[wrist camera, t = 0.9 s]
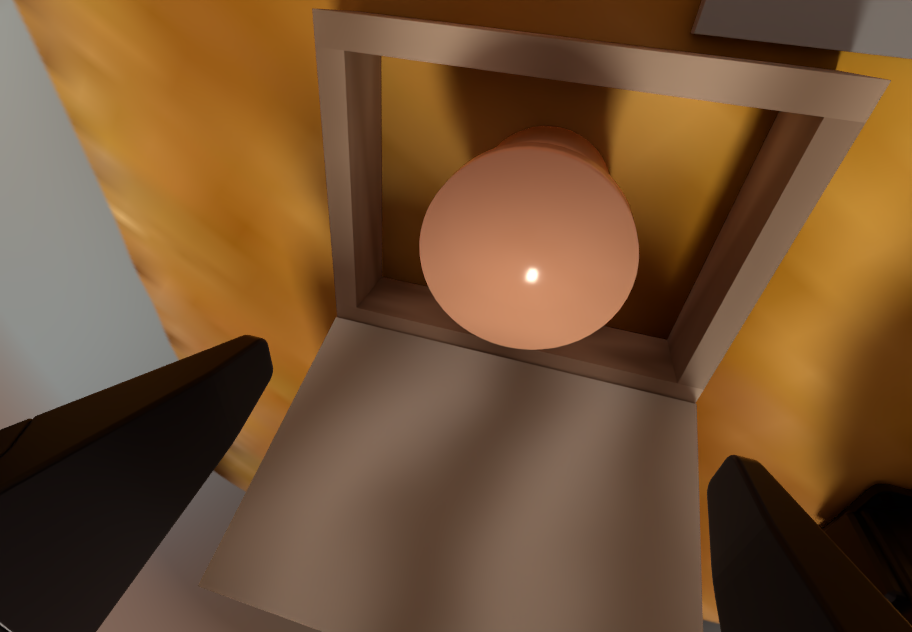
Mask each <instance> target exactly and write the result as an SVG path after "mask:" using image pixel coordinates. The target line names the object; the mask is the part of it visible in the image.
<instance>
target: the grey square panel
mask: <svg viewBox="0 0 912 632" xmlns="http://www.w3.org/2000/svg"><path fill="white" fill-rule="evenodd" d="M691 33H693V34H702V35H710V36H719V37H728V38H736V39H745V40H753V41H762V42H771V43H779V44H788V45H796V46H805V47H813V48H822V49H831V50H839V51H848V52H856V53H865V54H873V55H882V56H891V57H899V58H908V59H912V0H702V1H701V4H700V7H699V10H698V13H697V16H696V19H695V22H694V24H693V27H692V30H691Z"/></svg>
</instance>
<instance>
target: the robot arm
mask: <svg viewBox="0 0 912 632" xmlns="http://www.w3.org/2000/svg"><path fill="white" fill-rule="evenodd" d="M272 373H273V365H272V361H271V356H270V352H269V347H268V343H267V342H266V340H265V339H263V338H259V337H255V336H251V335H243V336H240V337H238V338H235V339H233V340H230V341H228V342H225V343H222V344H220V345H217V346H215V347H212V348H210V349H207V350H204V351H202V352H199V353H197V354H194V355H192V356H189V357H186V358H184V359H181V360H179V361H176V362H174V363H171V364H168V365H166V366H163V367H161V368H158V369H156V370H153V371H151V372H148V373H145V374H143V375H140V376H138V377H135V378H132V379H130V380H127V381H125V382H122V383H120V384H117V385H114V386H112V387H110V388H107V389H104V390H102V391H99V392H97V393H94V394H91V395H89V396H86V397H84V398H81V399H79V400H76V401H73V402H71V403H68V404H66V405H63V406H60V407H58V408H55V409H53V410H50V411H48V412H45V413H42V414H40V415H37V416H35V417H34V418H33V419H27V420H24V421H22V422H19V423H17V424H14V425H12V426H9V427H6V428H4V429H1V430H0V632H96V631H97V630H98V628H99V627H100V626H101V624H102V623H103V622H104V620H105V619H106V618H107V616H108V615H109V613H110V612H111V611H112V609H113V608H114V606H115V605H116V603H117V602H118V601H119V599H120V598H121V597H122V595H123V594H124V593H125V591H126V590H127V589H128V587H129V586H130V584H131V583H132V582H133V580H134V579H135V578H136V576H137V575H138V573H139V572H140V571H141V569H142V568H143V567H144V565H145V564H146V562H147V561H148V560H149V558H150V557H151V555H152V554H153V553H154V551H155V550H156V549H157V547H158V546H159V545H160V543H161V541H162V540H163V539H164V538H165V536H166V534H167V533H168V532H169V531H170V529H171V527H173V525H174V524H175V522H176V521H177V520H178V518H179V517H180V515H181V514H182V513H183V511H184V510H185V508H186V507H187V506H188V504H189V503H190V502H191V500H192V499H193V498H194V496H195V495H196V494H197V492H198V491H199V489H200V488H201V487H202V485H203V484H204V482H205V481H206V480H207V478H208V477H209V475H210V474H211V473H212V471H213V470H214V469H215V467H216V466H217V465H218V463H219V462H220V460H221V459H222V458H223V456H224V455H225V454H226V452H227V451H228V449H229V448H230V446H231V445H232V444H233V442H234V441H235V439H236V437H237V436H238V434H239V433H240V431H241V429H242V428H243V426H244V424H245V422H246V421H247V419H248V417H249V416H250V414H251V412H252V410H253V409H254V407H255V405H256V404H257V402H258V400H259V398H260V397H261V395H262V393H263V391H264V390H265V388H266V386H267V385H268V383H269V381H270V379H271V377H272ZM707 500H708V517H709V534H710V550H711V567H712V578H713V586H714V593H715V599H716V605H717V611H718V616H719V622H720V628H721V632H912V490H908V489H904V488H900V487H896V486H892V485H887V484H878V485H874V486H872V487H871V488H869V489H868V490H867V491H866V492H865V493H864V494H862V495H861V496H860V497H859V498H858V499H857V500H856V501H854V502H853V503H852V504H851V505H850V506H849V507H848V508H847V509H845V510H844V511H843V512H842V513H841V514H840V515H839V516H837V517H836V518H835V519H834V520H833V521H832V522H831V523H829V524H828V525H827V526H826V527H825V528H824V529H823V530H822V529H821V528H820V527H819V526H818V525H817V523H816V522H815V521H814V520H813V519H812V518H811V517H810V516H809V515H808V514H807V513H806V512H805V511H804V509H803V508H802V507H801V506H800V505H799V504H798V503H797V502H796V501H795V500H794V499H793V498H792V497H791V495H790V494H789V493H788V492H787V491H786V490H785V489H784V488H783V487H782V486H781V485H780V484H779V483H778V481H777V480H776V479H775V478H774V477H773V476H772V475H771V474H770V473H769V472H768V471H767V470H766V469H765V467H764V466H763V465H762V464H761V463H759V462H758V461H756V460H753V459H749V458H745V457H741V456H737V455H731V456H729V457H727V458H726V460H725V461H724V462H723V464H722V465H721V466H720V468H719V469H718V471H717V472H716V473H715V475H714V476H713V478H712V479H711V480H710V482H709V485H708V490H707Z"/></svg>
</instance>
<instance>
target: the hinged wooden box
mask: <svg viewBox="0 0 912 632" xmlns="http://www.w3.org/2000/svg"><path fill="white" fill-rule="evenodd" d="M312 10H313V23H314V35H315V47H316V60H317V72H318V84H319V97H320V109H321V121H322V134H323V146H324V158H325V171H326V183H327V195H328V208H329V220H330V232H331V245H332V257H333V269H334V282H335V294H336V306H337V317H336V318H335V320H334V322H333V324H332V326H331V328H330V330H329V332H328V334H327V336H326V338H325V340H324V342H323V344H322V346H321V347H320V349H319V351H318V353H317V355H316V357H315V359H314V361H313V363H312V365H311V367H310V369H309V371H308V373H307V375H306V377H305V379H304V381H303V383H302V384H301V386H300V388H299V390H298V392H297V394H296V396H295V398H294V400H293V402H292V404H291V406H290V408H289V410H288V412H287V414H286V416H285V418H284V420H283V421H282V423H281V425H280V427H279V429H278V431H277V433H276V435H275V437H274V439H273V441H272V443H271V445H270V447H269V449H268V451H267V453H266V455H265V456H264V458H263V460H262V462H261V464H260V466H259V468H258V470H257V472H256V474H255V476H254V478H253V480H252V482H251V484H250V486H249V488H248V490H247V492H246V494H245V495H244V497H243V499H242V501H241V503H240V505H239V507H238V509H237V511H236V513H235V515H234V517H233V519H232V521H231V523H230V525H229V527H228V529H227V530H226V533H225V534H224V537H223V538H222V540H221V542H220V544H219V546H218V548H217V550H216V552H215V554H214V556H213V558H212V560H211V562H210V564H209V566H208V567H207V570H206V571H205V573H204V575H203V577H202V579H201V581H200V583H199V585H198V586H199V587H201V588H204V589H207V590H210V591H212V592H215V593H218V594H221V595H223V596H226V597H229V598H231V599H234V600H237V601H240V602H243V603H245V604H248V605H251V606H253V607H256V608H259V609H262V610H265V611H267V612H270V613H273V614H275V615H278V616H281V617H284V618H287V619H289V620H292V621H295V622H297V623H301V624H303V625H306V626H308V627H311V628H314V629H317V630H319V631H322V632H703V618H702V582H701V547H700V512H699V477H698V442H697V406H696V404H695V403H696V401H697V400H698V398H699V396H700V395H701V393H702V391H703V390H704V388H705V386H706V385H707V383H708V381H709V380H710V378H711V376H712V375H713V373H714V372H715V370H716V368H717V367H718V365H719V363H720V362H721V360H722V358H723V357H724V355H725V353H726V352H727V350H728V348H729V347H730V345H731V344H732V342H733V340H734V339H735V337H736V335H737V334H738V332H739V330H740V329H741V327H742V325H743V324H744V322H745V320H746V319H747V317H748V316H749V314H750V312H751V311H752V309H753V307H754V306H755V304H756V302H757V301H758V299H759V297H760V296H761V294H762V292H763V291H764V289H765V288H766V286H767V284H768V283H769V281H770V279H771V278H772V276H773V274H774V273H775V271H776V269H777V268H778V266H779V264H780V263H781V261H782V260H783V258H784V256H785V255H786V253H787V251H788V250H789V248H790V246H791V245H792V243H793V241H794V240H795V238H796V236H797V235H798V233H799V232H800V230H801V228H802V227H803V225H804V223H805V222H806V220H807V218H808V217H809V215H810V213H811V212H812V210H813V208H814V207H815V205H816V203H817V202H818V200H819V199H820V197H821V195H822V194H823V192H824V190H825V189H826V187H827V185H828V184H829V182H830V180H831V179H832V177H833V175H834V174H835V172H836V171H837V169H838V167H839V166H840V164H841V162H842V161H843V159H844V157H845V156H846V154H847V152H848V151H849V149H850V147H851V146H852V144H853V143H854V141H855V139H856V138H857V136H858V134H859V133H860V131H861V129H862V128H863V126H864V124H865V123H866V121H867V119H868V118H869V116H870V115H871V113H872V111H873V110H874V108H875V106H876V105H877V103H878V101H879V100H880V98H881V96H882V95H883V93H884V91H885V90H886V88H887V87H888V85H889V83H890V82H891V80H886V79H881V78H875V77H870V76H865V75H859V74H854V73H848V72H843V71H838V70H830V69H822V68H814V67H806V66H797V65H789V64H781V63H773V62H765V61H757V60H749V59H741V58H732V57H724V56H716V55H708V54H700V53H692V52H684V51H676V50H667V49H659V48H651V47H643V46H635V45H627V44H619V43H611V42H602V41H594V40H586V39H578V38H570V37H562V36H554V35H546V34H537V33H529V32H521V31H513V30H505V29H497V28H489V27H481V26H472V25H464V24H456V23H448V22H440V21H432V20H424V19H416V18H407V17H399V16H391V15H383V14H375V13H367V12H359V11H346V10H328V9H312ZM381 56H387V57H394V58H401V59H409V60H416V61H423V62H430V63H437V64H445V65H452V66H459V67H466V68H473V69H481V70H488V71H495V72H502V73H509V74H517V75H524V76H531V77H538V78H545V79H553V80H560V81H567V82H574V83H582V84H589V85H596V86H603V87H610V88H618V89H625V90H632V91H639V92H646V93H654V94H661V95H668V96H675V97H682V98H690V99H697V100H704V101H711V102H719V103H726V104H733V105H740V106H747V107H755V108H762V109H769V110H776V111H779V112H778V114H777V117H776V119H775V121H774V123H773V125H772V127H771V129H770V131H769V133H768V135H767V137H766V139H765V141H764V143H763V145H762V147H761V149H760V151H759V153H758V155H757V157H756V159H755V161H754V163H753V165H752V167H751V170H750V172H749V174H748V176H747V178H746V180H745V182H744V184H743V186H742V188H741V190H740V192H739V194H738V196H737V198H736V200H735V202H734V204H733V206H732V208H731V210H730V212H729V214H728V216H727V218H726V220H725V223H724V225H723V227H722V229H721V231H720V233H719V235H718V237H717V239H716V241H715V243H714V245H713V247H712V249H711V251H710V253H709V255H708V257H707V259H706V261H705V263H704V265H703V267H702V269H701V271H700V273H699V276H698V278H697V280H696V282H695V284H694V286H693V288H692V290H691V292H690V294H689V296H688V298H687V300H686V302H685V304H684V306H683V308H682V310H681V312H680V314H679V316H678V318H677V320H676V322H675V324H674V326H673V329H672V331H671V333H670V335H669V337H668V339H667V340H665V339H660V338H656V337H651V336H647V335H642V334H638V333H633V332H629V331H624V330H620V329H615V328H611V327H606V326H602V327H601V328H600V329H598V330H597V331H595V332H594V333H592V334H591V335H589V336H587V337H585V338H583V339H581V340H579V341H576V342H573V343H570V344H568V345H564V346H560V347H556V348H549V349H537V350H527V349H516V348H510V347H505V346H501V345H498V344H495V343H492V342H489V341H487V340H484V339H482V338H480V337H478V336H476V335H474V334H472V333H470V332H469V331H467V330H466V329H465V328H463V327H462V326H460V325H459V324H458V323H457V322H455V321H454V320H453V319H452V318H451V317H450V316H449V315H448V314H447V313H446V312H445V311H444V310H443V309H442V307H441V306H440V305H439V303H438V302H437V301H436V299H435V298H434V296H433V294H432V292H431V291H430V289H429V287H426V286H422V285H417V284H413V283H408V282H404V281H399V280H395V279H390V278H386V277H382V150H381Z"/></svg>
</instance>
